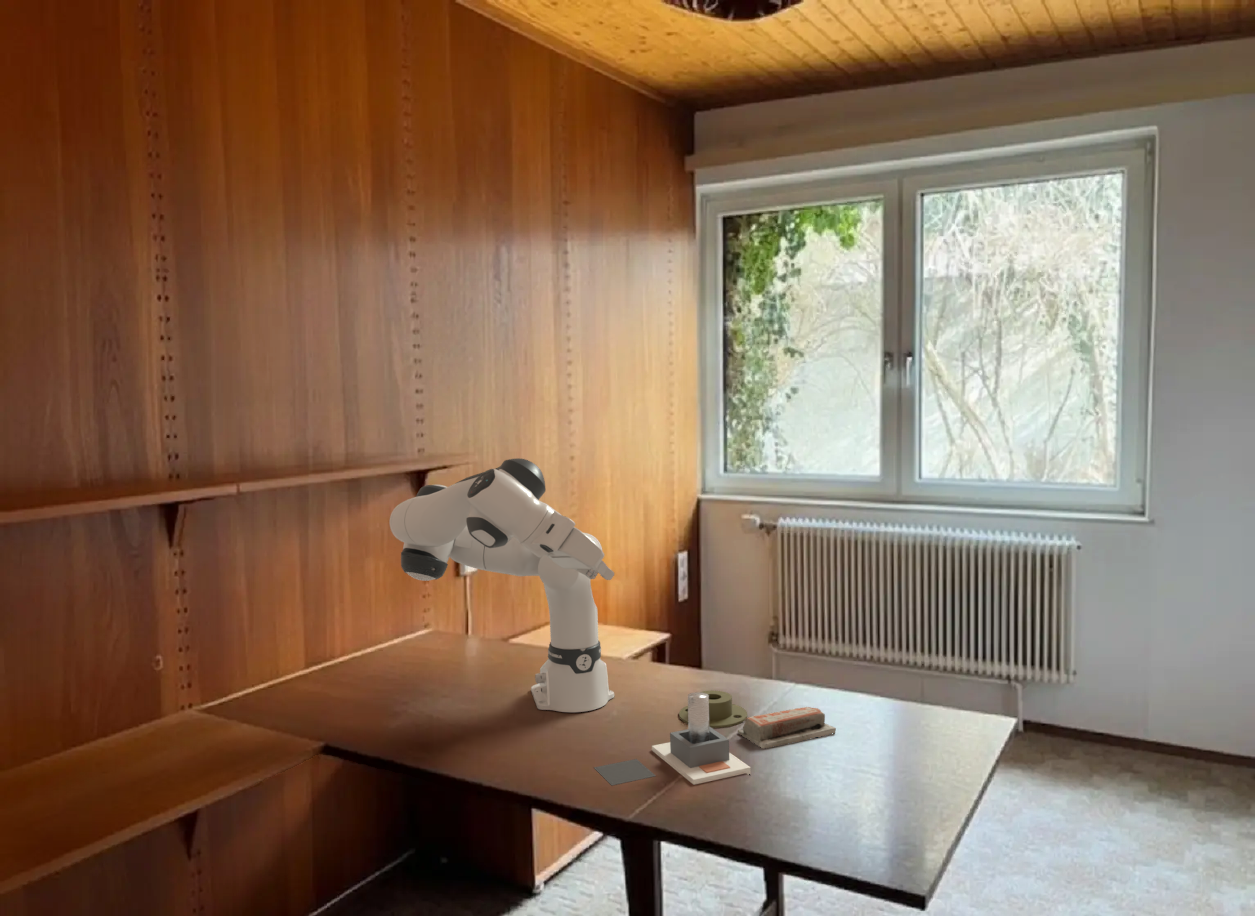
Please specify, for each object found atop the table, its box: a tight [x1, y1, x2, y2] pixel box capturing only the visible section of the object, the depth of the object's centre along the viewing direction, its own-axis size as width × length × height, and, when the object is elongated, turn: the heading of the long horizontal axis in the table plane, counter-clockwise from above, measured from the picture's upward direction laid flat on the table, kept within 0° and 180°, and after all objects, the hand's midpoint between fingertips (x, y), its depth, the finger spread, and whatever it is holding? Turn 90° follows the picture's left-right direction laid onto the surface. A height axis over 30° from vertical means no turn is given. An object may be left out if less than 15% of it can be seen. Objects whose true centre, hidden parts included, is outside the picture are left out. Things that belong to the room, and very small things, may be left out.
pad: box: [593, 758, 657, 787], centre depth 178 cm, size 9×9×1 cm
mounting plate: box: [651, 726, 752, 785], centre depth 182 cm, size 18×12×6 cm, turn 24°
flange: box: [678, 689, 748, 729], centre depth 208 cm, size 5×15×15 cm
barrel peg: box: [687, 691, 709, 744], centre depth 181 cm, size 4×4×12 cm
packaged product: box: [737, 706, 837, 749], centre depth 196 cm, size 18×5×10 cm
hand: (603, 576), depth 178 cm, fingers open, 8 cm apart
